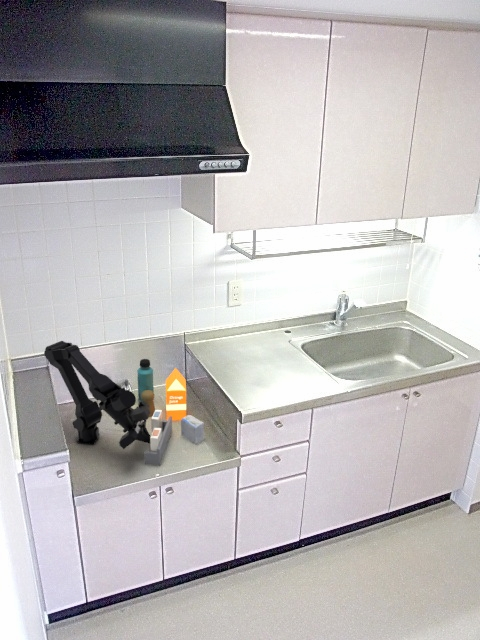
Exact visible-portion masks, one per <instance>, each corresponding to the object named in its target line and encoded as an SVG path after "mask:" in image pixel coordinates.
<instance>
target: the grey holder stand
mask: <svg viewBox="0 0 480 640" xmlns="http://www.w3.org/2000/svg"><path fill="white" fill-rule="evenodd" d="M162 424H163V433H162V437H161V439H160V442H159V445H158V447H157V452H154V451H151V445H150V444H149V446H150V447H149V448H150V450H145V451H144V452H143V453H144V464H145V465H149V466H150V465H151V466H161V464H162V461H163V458H164V455H165V452H166V450H167V447H168V445H169V441H170V438H171V437H172V433H173V421H172V416H169V418H168V420H167V419H162Z"/></svg>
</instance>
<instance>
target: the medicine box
mask: <svg viewBox="0 0 480 640" xmlns="http://www.w3.org/2000/svg"><path fill="white" fill-rule="evenodd" d="M180 423H181V424H180V425H181V426H180V427H181V429H180V431H181V433H180V434H181V436H182V437H184V438H185V439H187V441H188V440H189V441H190V442H191V443H193V444H195V445H197V444H199V443H201V442H202V441H204V439H205V422H203V421H202V420H200V419H198V418H197V417H195V416H193V415H191V414H188V415H186V417H184V418H182V419H181V420H180Z"/></svg>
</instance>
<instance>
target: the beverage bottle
mask: <svg viewBox="0 0 480 640" xmlns="http://www.w3.org/2000/svg"><path fill="white" fill-rule="evenodd" d="M139 366H140V367H139V368H138V369H137V397H138V401H139V402H140V401H143V400H142V399H141V393H142V392H143V391H145V390H151V391H153V392H154V393H155V391H154V389H155V387H154V369H153V367H151V360H150V359H149V358H142V359H140V361H139ZM154 400H155V398H154V399H153V401H154Z"/></svg>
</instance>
